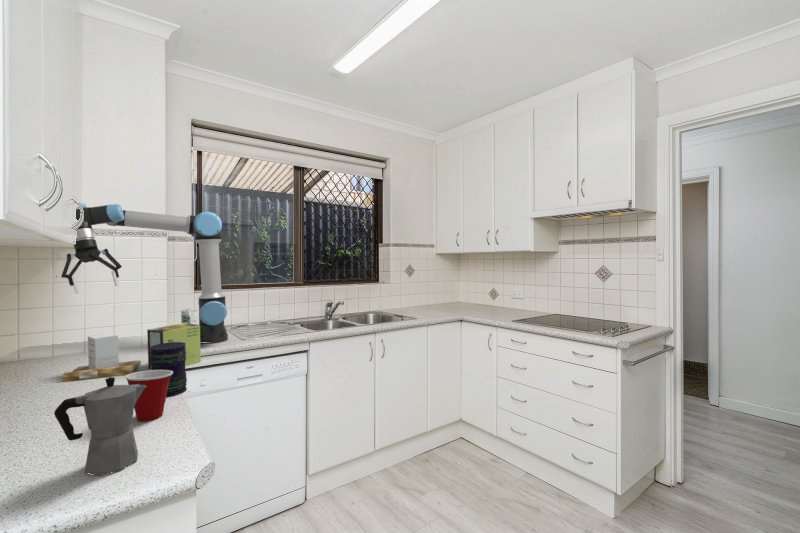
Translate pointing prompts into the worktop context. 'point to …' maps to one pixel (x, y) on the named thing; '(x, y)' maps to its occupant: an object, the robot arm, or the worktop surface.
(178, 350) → the storage jar
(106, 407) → the coffeepot
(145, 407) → the plastic cup
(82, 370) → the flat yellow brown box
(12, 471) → the worktop surface
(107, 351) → the supplement box
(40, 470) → the worktop surface
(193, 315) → the syrup box
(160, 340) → the protein box
